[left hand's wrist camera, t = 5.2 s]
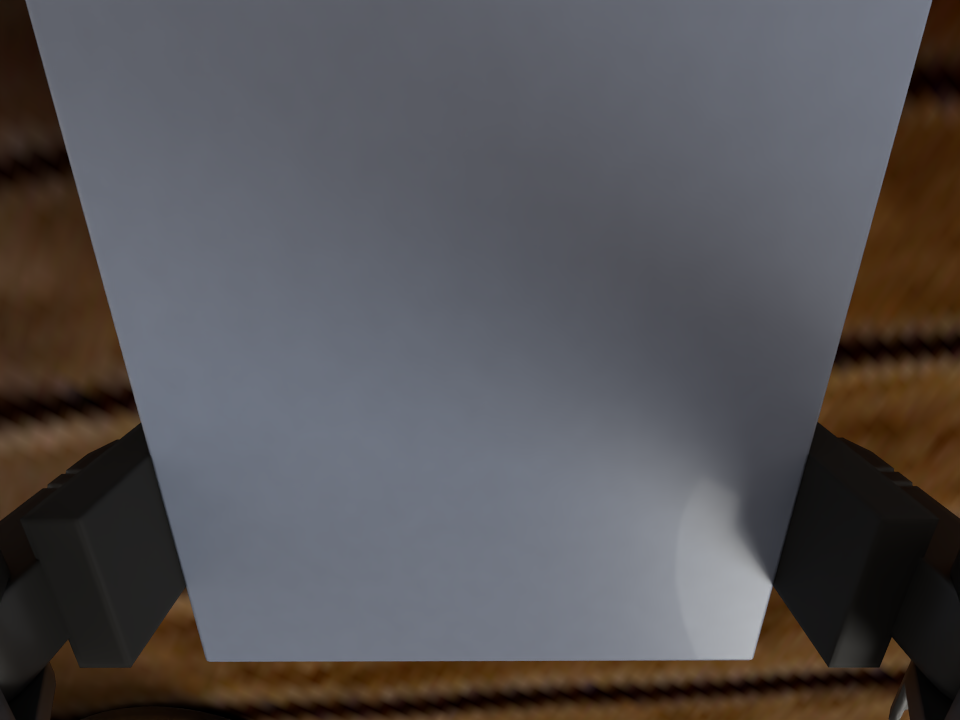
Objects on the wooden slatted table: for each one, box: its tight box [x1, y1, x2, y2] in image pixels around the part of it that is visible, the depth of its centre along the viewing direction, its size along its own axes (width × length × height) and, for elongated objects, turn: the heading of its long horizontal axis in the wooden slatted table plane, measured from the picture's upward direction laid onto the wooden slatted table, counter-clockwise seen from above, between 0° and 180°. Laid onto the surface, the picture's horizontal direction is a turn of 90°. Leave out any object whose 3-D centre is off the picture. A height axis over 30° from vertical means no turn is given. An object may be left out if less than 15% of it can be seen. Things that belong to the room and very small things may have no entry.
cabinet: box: [26, 0, 932, 662], centre depth 11 cm, size 19×10×10 cm, turn 0°
